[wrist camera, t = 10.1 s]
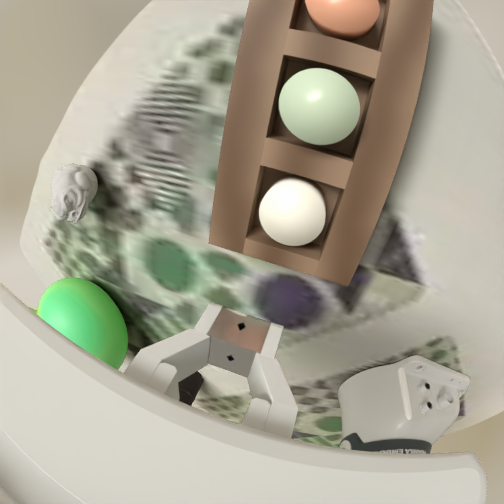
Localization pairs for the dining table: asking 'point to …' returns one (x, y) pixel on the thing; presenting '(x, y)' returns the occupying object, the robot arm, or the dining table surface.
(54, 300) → the toy bird
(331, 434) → the dining table surface
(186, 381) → the butter churn
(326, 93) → the sage button
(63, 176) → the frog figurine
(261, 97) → the button panel
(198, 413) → the robot arm
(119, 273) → the dining table surface
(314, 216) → the cream button
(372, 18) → the terracotta button
